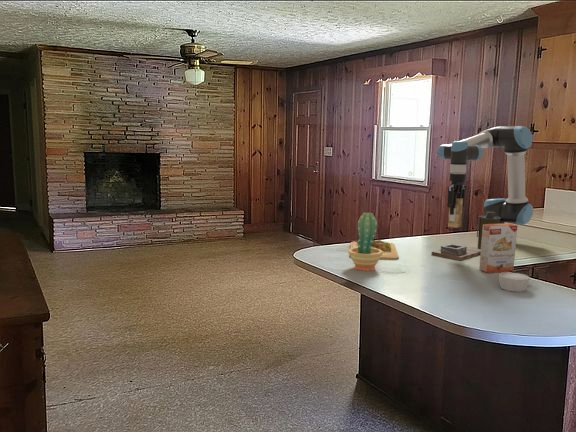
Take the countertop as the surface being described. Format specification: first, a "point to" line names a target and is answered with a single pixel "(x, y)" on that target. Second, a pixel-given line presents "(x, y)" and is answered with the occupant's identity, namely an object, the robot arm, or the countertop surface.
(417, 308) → the countertop surface
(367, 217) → the potted cactus
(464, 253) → the wick stand
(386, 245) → the cutting board
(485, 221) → the canister
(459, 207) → the oak peg
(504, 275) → the ramekin
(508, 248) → the cracker box
